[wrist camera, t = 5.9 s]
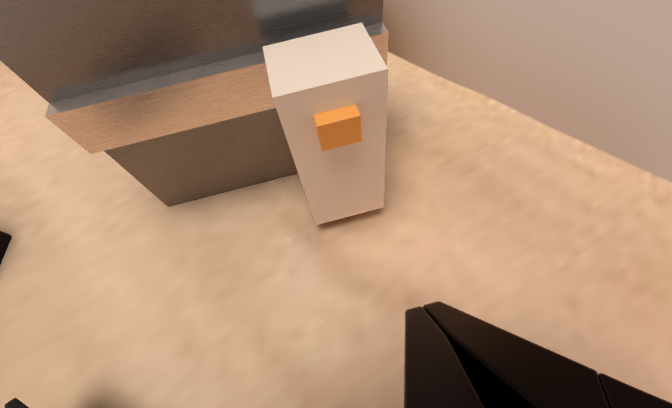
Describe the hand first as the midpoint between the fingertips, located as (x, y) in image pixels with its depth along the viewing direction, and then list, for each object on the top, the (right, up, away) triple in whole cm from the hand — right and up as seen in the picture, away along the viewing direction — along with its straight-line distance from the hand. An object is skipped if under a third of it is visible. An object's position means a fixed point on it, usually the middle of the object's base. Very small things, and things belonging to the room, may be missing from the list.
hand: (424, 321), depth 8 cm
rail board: (-8, +7, +20) cm, 22 cm away
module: (-1, +3, +16) cm, 16 cm away
